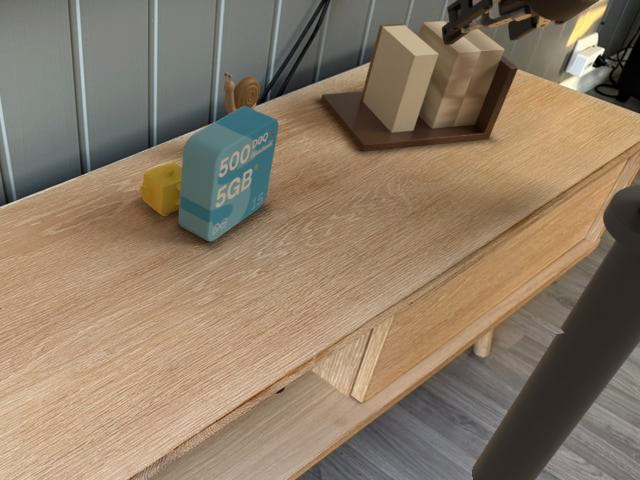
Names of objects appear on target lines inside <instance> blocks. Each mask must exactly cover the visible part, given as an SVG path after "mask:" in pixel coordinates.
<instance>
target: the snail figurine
mask: <svg viewBox="0 0 640 480" xmlns="http://www.w3.org/2000/svg"><path fill="white" fill-rule="evenodd" d="M223 74H224V77H225V78H224V84H223V90H224V104H225V110H226V112H227V115H228V114H230V113H232V112H234V111H235V110H237V109H239V108H241V107H243V106H247V107H249V108H251V109H254V110H255V108H256V106H257V102H258V99H259V97H260V94H261V85H260V82H259V80H258V79H257V78H255V77H253V76H247V77H244V78H243V79H241V80H240V81H239V82H237V84H236V85H235V82H234V81H233V80H231V79H233V74H232V73H229V72H228V71H225V72H224V73H223ZM227 78H228V80H227Z"/></svg>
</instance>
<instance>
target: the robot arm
mask: <svg viewBox="0 0 640 480" xmlns="http://www.w3.org/2000/svg"><path fill="white" fill-rule="evenodd" d="M598 2H600V0H455V1H454V2H452V3H451V4H449V5H448V6H447V7H446V11H447V15H448V21H449V22H448V23H447V24H445V25H444V26H443V27H442V37H443V41H444V44H445V45H452V44H453V43H455V42H456V41H458V40H459V39H460V38H462V37H463V36H465V35H466V34H468V33H469V32H470V31H472V30H475V29H481V28H483V27H484V28H486V29H488V30H491V29H494V28H496V27H499V26H502V25H505V24H507V23H508V24H507V30H508V38H509V40H510V41H518V40H521V38H523V37H525V36H526V35H528V34H530V33H532V32H533V31H535V30H536V29H544V28H546V27H547V26H549V25H550V23H551V22H554V25H555V26H561V25H563V24H565V23H567V22H569V21H570V20H571V19H573V18H574V17H576V16H578V15H579V14H581V13H583V12H584V11H586V10H588V9H589V8H590V7H592V6H593V5H595V4H596V3H598ZM494 4H497V11H498V15H499V16H498V17H495V18H494V17H493V10H492V9H493V7H494ZM480 16H481V17H480ZM479 17H480V19H477V18H479ZM638 212H639V214H640V204H639V206H638Z"/></svg>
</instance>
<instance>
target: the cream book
mask: <svg viewBox="0 0 640 480" xmlns="http://www.w3.org/2000/svg"><path fill="white" fill-rule="evenodd" d="M437 57H438V53H437V52H436V51H434V50H433V49H432V48H431V47H430V46H429V45H427V44H426V43H425V42H424V41H423V40H422V39H420V38H419V37H418V35H417V34H416V33H415V32H414V31H412V30H411V29H410V28H409V27H408V26H406V24H405V23H402V22H401V23H388V24H380V25H379V28H378V30H377V35H376V38H375V42H374V47H373V50H372V55H371V58H370V62H369V66H368V69H367V74H366V77H365V81H364V85H363V89H362V91H363V92H362V96H361V100H362V101H363V102H364V103H365V104H366V105H367V107H368V108H369V109H370V110H371V111H372V112H373V113H374V114H375V115H376V116H377V118H378V119H379V120H380V121H381V122H382V123H383V124H384V125H385V126H386V127H387V128H388V130H389V131H390V132H391V133H394V132H404V131H413V130H414V127H415V124H416V121H417V118H418V115H419V112H420V109H421V106H422V103H423V100H424V97H425V94H426V90H427V87H428V84H429V81H430V78H431V75H432V72H433V69H434V66H435V63H436V60H437Z"/></svg>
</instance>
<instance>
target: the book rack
mask: <svg viewBox="0 0 640 480" xmlns="http://www.w3.org/2000/svg"><path fill="white" fill-rule="evenodd" d="M448 22H449V20H441V21H439V20H438V21H423V22H421V25H420V29H419V32H418V35H417V36H418V37H419V38H420V39H422V40H423V41H424V42H425V43H426V44H427V45H429V46H430V47H431V48H432V49H433V50H434V51H436V52H437V53H438V57H437V60H436V63H435V66H434V69H433V72H432V75H431V78H430V81H429V84H428V87H427V90H426V94H425V97H424V100H423V103H422V106H421V109H420V112H419V115H418V118H417V121H416V124H415V127H414V130H413V131H404V132H394V133H391V132H390V131H389V130H388V128H387V127H386V126H385V125H384V124H383V123H382V122H381V121H380V120H379V119H378V118H377V116H376V115H375V114H374V113H373V112H372V111H371V110H370V109H369V108H368V107H367V105H366V104H365V103H364V102H363V101H362V100H361V96H362V92H363V90H362V91H350V92H336V93H324V94H323V93H322V94H321V99H320V101H321V102H322V104H323V105H324V106H325V107H326V109H327V110H328V111H329V112H330V114H331V115H332V116H333V117H334V119H335V120H336V121H337V122H338V123H339V125H340V126H341V127H342V128H343V130H344V131H345V132H346V133H347V134H348V136H349V137H350V138H351V139H352V141H353V142H354V143H355V144H356V145H357V147H358V148H359V149H360V151H362V152H368V151H378V150H379V151H380V150H388V149H399V148H411V147H420V146H429V145H441V144H442V145H443V144H453V143H461V142H462V143H463V142H473V141H482V140H483V141H484V140H489V139H490V137H491V135H492V132H493V130H494V128H495V125H496V124H497V123H496V122H497V120H498V118H499V115H500V113H501V111H502V108H503V106H504V103H505V101H506V98H507V96H508V94H509V91H510V89H511V87H512V85H513V82H514V79H515V77H516V75H517V73H518V70H519V67H518V66H517V65H515V64H514V63H513V62H512V61H510V60H509V59H507V58H506V57H505V56H503V54H504V52H505V48H504V47H502V46H501V45H500V44H499V43H497V42H496V41H494V40H493V39H492V38H491V37H489V36H488V35H487V34H486V33H484V32H483V31H482V30H480V28H478V29H475V30H472V31H470V32H469V33H468V34H466V35H465V36H463V37H462V38H460V39H459V40H458V41H456V42H455V43H453V44H452V45H445V44H444V41H443V37H442V27H443V26H444V25H445V24H447V23H448Z"/></svg>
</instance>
